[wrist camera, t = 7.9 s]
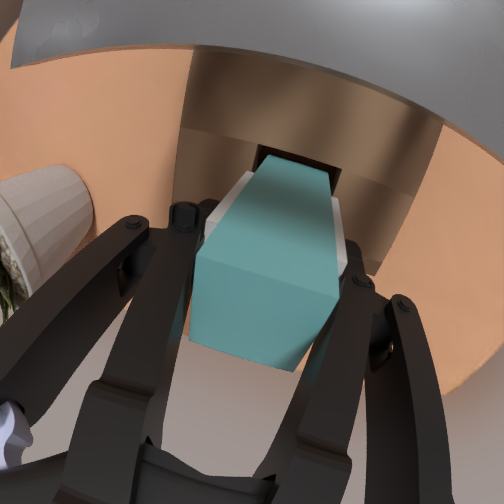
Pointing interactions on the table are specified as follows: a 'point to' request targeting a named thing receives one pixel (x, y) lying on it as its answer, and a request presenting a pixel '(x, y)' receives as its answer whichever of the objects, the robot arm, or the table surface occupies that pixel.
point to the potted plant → (39, 229)
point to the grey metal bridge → (308, 45)
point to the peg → (269, 268)
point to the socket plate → (304, 139)
